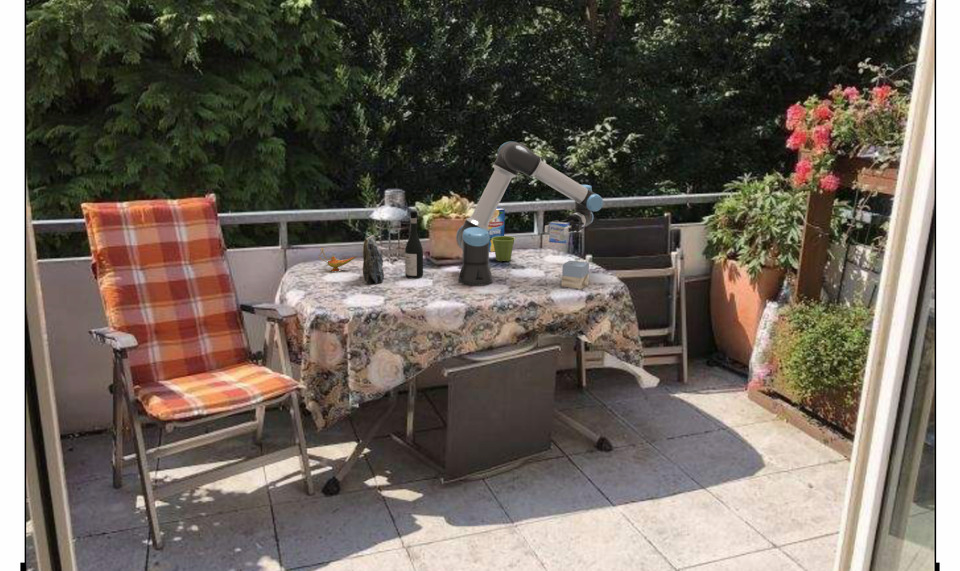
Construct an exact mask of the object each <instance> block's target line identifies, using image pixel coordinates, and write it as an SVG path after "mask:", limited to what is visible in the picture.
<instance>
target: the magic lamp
mask: <svg viewBox="0 0 960 571" xmlns="http://www.w3.org/2000/svg"><path fill="white" fill-rule="evenodd" d="M321 254H323V257H324V258H325V259H323V258H321ZM318 257H319V259H320V260H322V261H324V262H325V263H326V264H327V266H329V267H331V269H330V270H331V271H339V270H341V269H340V267H343V266H345V265H346V264H349V263H350V262H351V261H353V260H354V259H356V258H358V257H359V256H358V255H357V256H351V257H350V258H347V259H342V260H341V259H337V258H336V257H335V255H332V256H331V257H330V258H327V257H326V254H325V252H324V248H322V247H321V248H320V254H319V256H318ZM326 260H327V261H326ZM331 271H330V272H331ZM339 272H340V271H339Z"/></svg>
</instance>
